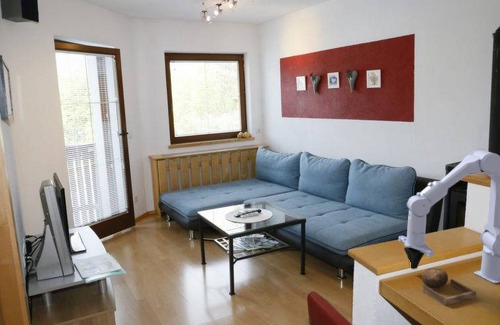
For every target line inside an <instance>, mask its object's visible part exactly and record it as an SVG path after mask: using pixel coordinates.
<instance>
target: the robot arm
mask: <svg viewBox="0 0 500 325" xmlns="http://www.w3.org/2000/svg"><path fill="white" fill-rule="evenodd" d="M482 171H483V173H484V174H486V175H487V176H488V177H490V189H489V191H490V192H489V202H488V218H487V223H486V224H485V225H484V226H483V231H482V232H481V234H480V236H479V237H480V238H479V239H480V242H481V243H482V244H483V245H482V246H483V248H482V253H481V255H482V256H481V267H480V270H477V271H474V274H475V275H477V276H479V277H480V278H483V279H484V280H487V281H489V282H490V283H493V284H498V283H499V284H500V155H499V154H497V153H496V152H495V153H494V152H490V151H487V150H485V149H483V148H476V149H475V150H473V151H472V152H470V154H468V155H465V157H464V158H463V159H462V161H460V163H459V164H458V165H456V166H454V168H453V169H452V170H451V171H450V172H448V174H446V175H445V176H444V177H443V178H442V179H440V180H434V181H432V182H431V181H429V182H428V183H427V186H426V187H425V188H423V190H421V191H420V192H416V195H413V196H412V195H411V197H409V199H408V200H407V202H406V208H408V217H407V229H406V230H407V231H406V236H405V235H399V236H398V240H397V241H398V242H399V243H403V245H404V246H405V247H403V248H404V249H403V250H404V252H405V254H406V256H407V259H409V260H410V262H411V268H410V269H411V270H415V269H418V267H419V265H420V262H421V259H422V258H423V256H425V255H426V257H428V258H430V257H434V256H435V254H434V253H435V250H433V249H432V248H431V247H430V246H428V245H427V244H426V242H425V240H426V230H427V229H426V227H427V215H428V214H429V213H430V210H431V208H432V207H433V206H434V205H435V204H436V203H437V202H439V201H440V200H441V199H443V198H444V197H445V196H447V194H448V191H449V189H450V188H451V187H452V186H454V185H456V183H458V182H459V181H460V180H462V179H463V178H465V177H466V176H468V175H469V174H470V175H471V174H473V175H474V174H482ZM409 260H408V261H409Z"/></svg>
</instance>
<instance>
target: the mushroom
mask: <svg viewBox="0 0 500 325" xmlns="http://www.w3.org/2000/svg"><path fill="white" fill-rule="evenodd" d="M448 280H449V276H448V273H447V272H446V271H445V270H443V269H442V268H438V267H437V268H436V267H435V268H433V267H431V268H428V269H425V270H424V271H423V273H422V274H421V281H422V283H423V284H424V286H425V285H426V286H427V287H429V288H431V289H432V290H440V289H443V288H444V287H445V286H446V285H447V283H448Z"/></svg>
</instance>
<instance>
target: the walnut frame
mask: <svg viewBox="0 0 500 325" xmlns="http://www.w3.org/2000/svg"><path fill="white" fill-rule="evenodd" d="M449 281H450V282H449V285H450V286H451V287H453V288H454V289H457V290H458V291H460V292H461V293H458V294H455V295H453V296H452V295H451V296H448V297H445V296H444V295H442V294H440V293H438V291H435V289H431V288H429V287H427V286H426V285H425V284H424V285H423V286H422V287H423V288H422V292H423V293H425V294H426V295H427V296H429V297H431V298H433V299H434V300H436V301H437V302H439V303H441V304H442V305H443V306H450V305H453V304H457V303H461V302H465V301H468V300H472V299H476V295H477V291H476V290H473V289H471V288H470V287H468V286H466V285H464V284H462V283H460V282H459V281H457V280H455V279H453V278H451V279H450V280H449Z"/></svg>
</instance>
